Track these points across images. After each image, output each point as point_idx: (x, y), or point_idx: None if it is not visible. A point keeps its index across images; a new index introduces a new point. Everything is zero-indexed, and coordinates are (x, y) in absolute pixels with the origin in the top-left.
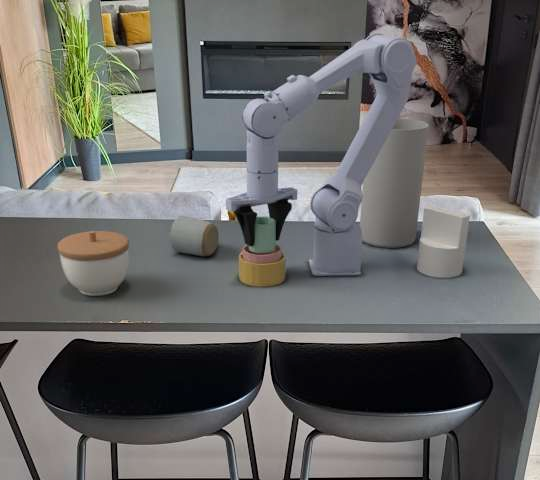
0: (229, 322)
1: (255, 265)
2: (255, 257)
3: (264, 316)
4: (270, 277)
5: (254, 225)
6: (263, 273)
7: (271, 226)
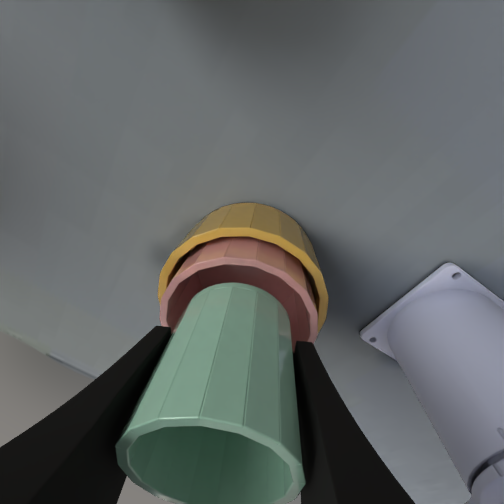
0: (86, 370)
1: None
2: None
3: None
4: None
5: (117, 493)
6: None
7: (226, 494)
